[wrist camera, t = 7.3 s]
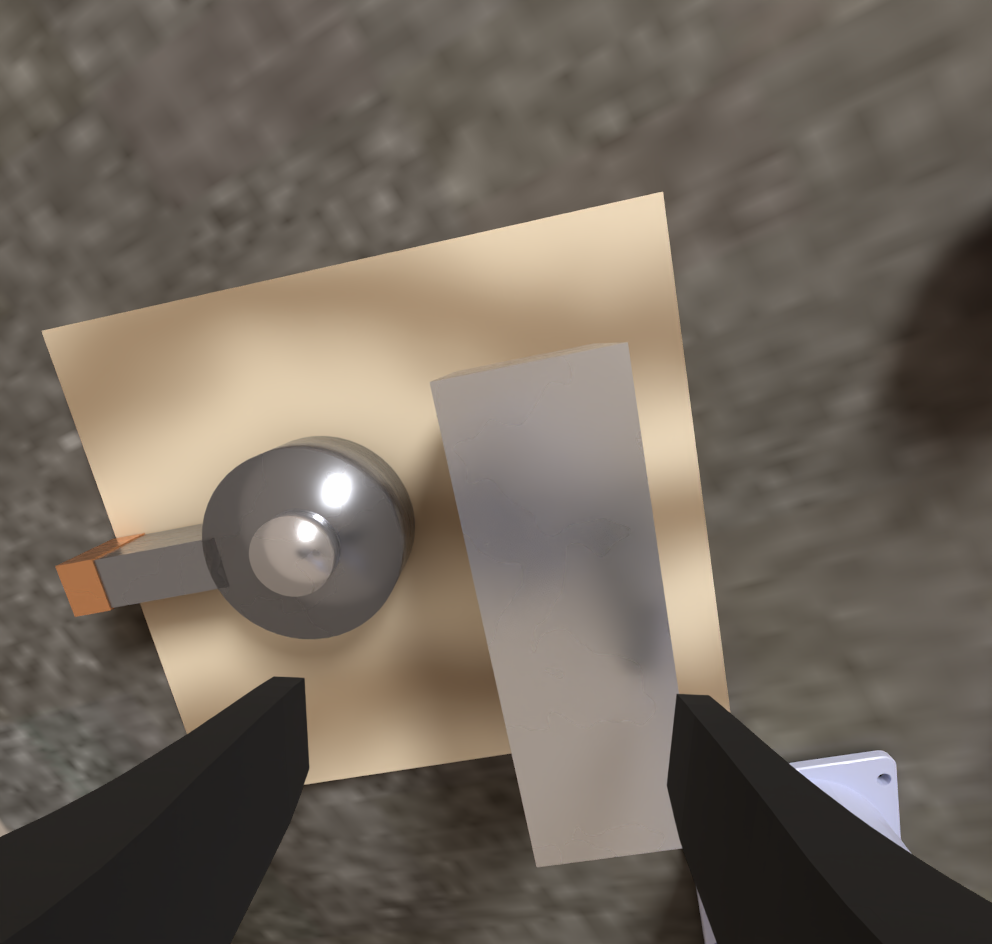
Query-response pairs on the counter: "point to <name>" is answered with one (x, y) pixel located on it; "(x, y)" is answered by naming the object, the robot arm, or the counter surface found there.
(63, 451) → the counter surface
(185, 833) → the robot arm
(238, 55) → the counter surface
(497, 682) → the grey long rectangular block
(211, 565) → the grey lidded pan
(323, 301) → the wooden board
